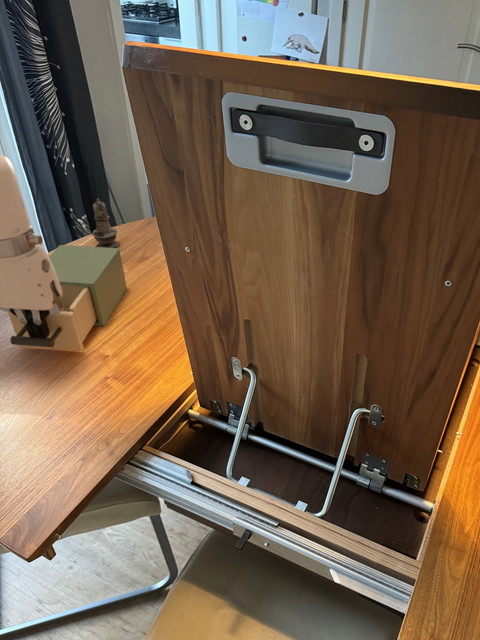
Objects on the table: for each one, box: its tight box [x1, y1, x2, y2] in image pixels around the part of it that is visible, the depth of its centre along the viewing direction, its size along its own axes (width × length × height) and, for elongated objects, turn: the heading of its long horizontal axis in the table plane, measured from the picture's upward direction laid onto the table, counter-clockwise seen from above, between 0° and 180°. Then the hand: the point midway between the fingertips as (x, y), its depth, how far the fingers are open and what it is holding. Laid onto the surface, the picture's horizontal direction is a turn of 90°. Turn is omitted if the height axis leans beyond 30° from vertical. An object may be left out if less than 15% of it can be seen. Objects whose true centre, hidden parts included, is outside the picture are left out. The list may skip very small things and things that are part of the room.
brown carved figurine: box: [91, 198, 119, 248], centre depth 124 cm, size 6×6×12 cm
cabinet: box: [48, 244, 128, 327], centre depth 104 cm, size 15×13×10 cm
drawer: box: [7, 285, 98, 352], centre depth 95 cm, size 18×11×8 cm, turn 175°
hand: (41, 339), depth 90 cm, fingers closed
